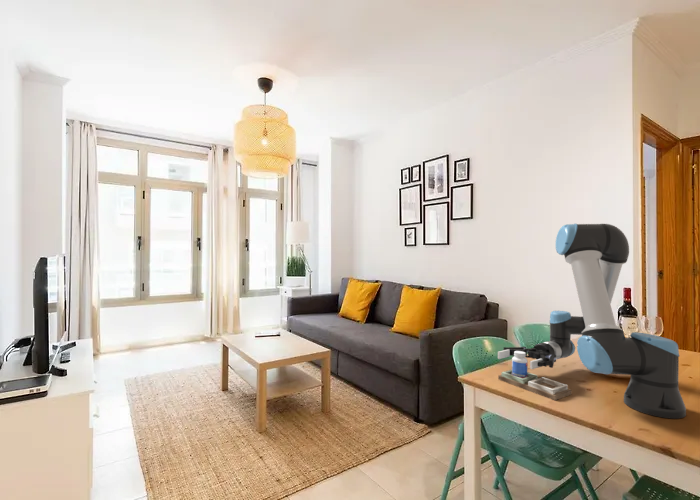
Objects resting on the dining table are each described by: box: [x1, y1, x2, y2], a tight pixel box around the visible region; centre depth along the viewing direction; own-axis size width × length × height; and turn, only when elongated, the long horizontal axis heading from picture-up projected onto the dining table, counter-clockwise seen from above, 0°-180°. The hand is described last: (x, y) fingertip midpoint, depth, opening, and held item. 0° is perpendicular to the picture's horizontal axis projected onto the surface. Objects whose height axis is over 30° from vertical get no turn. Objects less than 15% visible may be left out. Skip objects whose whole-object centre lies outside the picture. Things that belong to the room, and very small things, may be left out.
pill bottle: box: [511, 351, 529, 378], centre depth 136 cm, size 6×5×10 cm
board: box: [497, 369, 572, 401], centre depth 131 cm, size 22×10×3 cm, turn 31°
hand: (514, 360), depth 134 cm, fingers open, 13 cm apart
